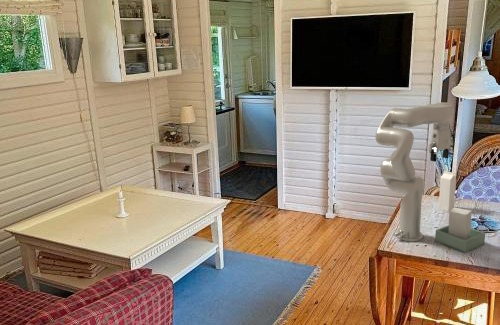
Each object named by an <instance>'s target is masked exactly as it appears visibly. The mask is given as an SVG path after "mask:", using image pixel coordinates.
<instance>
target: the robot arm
mask: <svg viewBox="0 0 500 325" xmlns="http://www.w3.org/2000/svg"><path fill="white" fill-rule="evenodd" d="M454 109H455V108H454V107H453V106H452V105H451V103H449V102H440V101H439V102H436V103H429V104H426V105H423V106H422V105H421V106H417V107H416V106H415V107H412V108H403V107H402V108H399V107H393V108H391V109H389V111H388V112H387V113H386V115H385V116H384V118H383V119H382V121H381V122H380V124H379V126H378V128H377V130H376V132H375V141H376V143H377V144H379V145H381V146H386V147H394V148H396V149H395V150H394V151H393V153H392V154H391V155H390V157H389V158H386V159H384V160H383V161H382V162H381V164H380V175H381V177H382V179H383V181H384V183H385V185H386V187H387V188H388V190H390V191H393V192H396V193H401V194H404V197H403V198H402V199H401V201H400V204H399V205H400V207H399V208H400V211H399V212H400V213H399V214H400V215H399V227H398V230H397V231H396V232H393V237H394V238H398V239H399V240H402V241H406V242H419V241H422V240H423V238H424V234H423V233H422V232H421V221H422V220H421V218H422V215H421V214H422V202H423V201H422V200H423V193H424V190H425V184H426V182H425V180H424V179H423V178H422V177H421V176H419V175H416V169H415V166H414V164H413V162H412V160H411V157H410V155H411V150H412V148H413V145H414V140H415V137H414V134H413V132H412V131H411V130H409V129H406V128H413V127H418V126H422V125H432V124H433V126H432V128H433V129H432V134H431V140H430V141H431V142H430V144H429V145H428V147H427V148H428V151H429V154H430V160H429V161H431V162H434V163H435V162H437V152H438V151H442V158H443V159H449V158H450V156H449V155H450V151H451V147H452V145H453V144H452V143H453V141H452V138H451V136H452V135H451V129H450V123H451V120H452V119H453V117H454V114H455V110H454ZM400 127H401V128H400Z"/></svg>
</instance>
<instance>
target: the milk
mask: <svg viewBox="0 0 500 325" xmlns="http://www.w3.org/2000/svg"><path fill="white" fill-rule="evenodd" d="M442 173H443V174H442V175H441V176H440V182H439V196H438V197H439V199H438V209H439V210H442V211H445V212H449V211H451V210H452V209H453V208H454V207H455V201H456V188H457V186H456V185H457V176H455V173H454V172H451V171H446V170H443V172H442Z"/></svg>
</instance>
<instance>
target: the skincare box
mask: <svg viewBox="0 0 500 325" xmlns="http://www.w3.org/2000/svg"><path fill="white" fill-rule="evenodd" d="M448 214H449V215H448V225H449V234H450V235H453V236H455V237H458V238H461V239H463V240H467V239H469V238H470V235H471V228H472V210H470V209H465V208H460V207H455V206H454V208H453V209H452V210H451V211H449V213H448Z"/></svg>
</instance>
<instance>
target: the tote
mask: <svg viewBox="0 0 500 325" xmlns="http://www.w3.org/2000/svg"><path fill="white" fill-rule="evenodd" d="M434 235H435V240H434V242H435V243H437V244H440V245H442V246H446V247H448V248H450V249H452V250H455V251H457V252H461V253H462V254H467V253H469V252H471V251H473V250H474V251H475V250H476V249H478V248H480V247H483V246H485V240H486V233H485V232H483V231H480V230H478V229H474V228H472V227H471V235H470V238H469V239H467V240H463V239H461V238H458V237H455V236H453V235H450V234H449V224H447V225H446V226H443V227H440V228H437V229H435V234H434Z"/></svg>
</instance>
